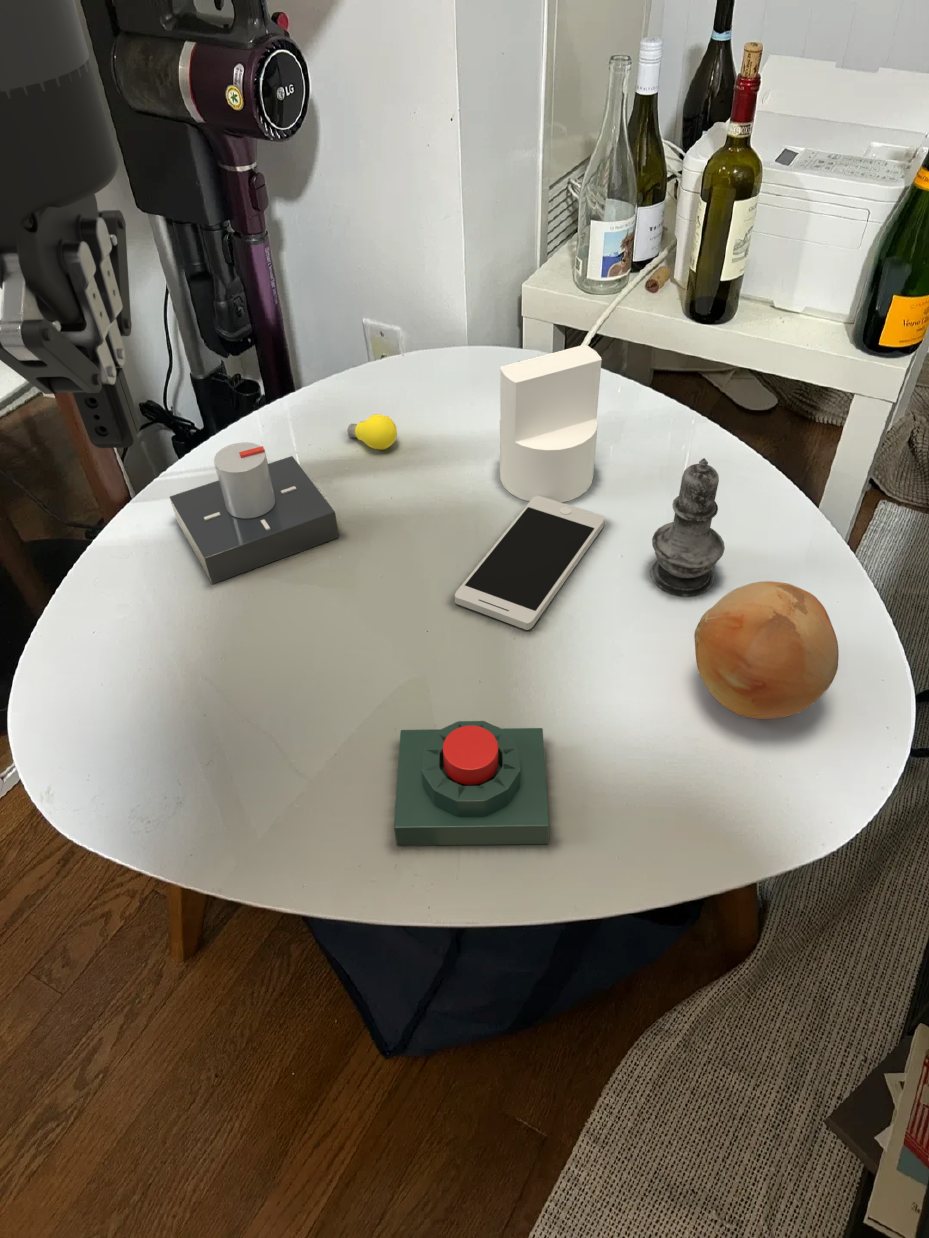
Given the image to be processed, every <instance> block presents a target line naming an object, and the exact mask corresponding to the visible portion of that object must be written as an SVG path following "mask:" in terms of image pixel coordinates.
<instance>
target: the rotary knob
mask: <svg viewBox="0 0 929 1238" xmlns="http://www.w3.org/2000/svg"><path fill="white" fill-rule="evenodd" d="M268 462H269V461H268V457H267V453H266V449H265V448H264V446H263V445H260V444H257V443H255V442H248V441H247V442H245V441H244V442H236V443H232V444H229V445H227V446H224V447H223V448H221V449H220V450H218V451H217V452H216V454H215V455H214V458H213V464H214V469H215V471H216V475H217V478H218V479H217V480H219V483H220V487H221V490H222V494H223V498H224V502H225V506H226V509H227V511H228V512H229V513H230V514H231V515H232V516H235V517H238V518H244V519H248V518H255V517H259V516H261V515H264V514H266V513H267V512H269V511H270V510H271V509H272V508H273V506H274V505H275V501H276V499H275V494H274V489H273V485H272V480H271V475H270V471H269V466H268V464H269V463H268Z"/></svg>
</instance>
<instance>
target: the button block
mask: <svg viewBox="0 0 929 1238" xmlns="http://www.w3.org/2000/svg"><path fill="white" fill-rule="evenodd" d="M463 726H479V727H482V728H484V729H486V730H488V731H489V732H491V733H492V734H493V735H494V737H495V738H496V740H497V743H498V768H497V770H496V772H495V774H494V775H493V776H492V777H491V778H490V779H489V780H487V781H486V782H484V783H481V784H478V785H464V784H460V783H458V782H456V781H454V780H453V779H451V778H450V777H449V775H448V774H447V773H446V771H445V768H444V759H443V744H444V741H445V739H446V737H447V736H448V735H449V734H450V733H451V732H452V731H454V730H455V729H457V728H460V727H463ZM544 742H545V741H544V729H543V727H515V728H513V727H511V728H510V727H508V728H504V727H503V728H501V727H498V726H496V725H495V724H491V723H489V722H487V721H485V720H458V721H455V722H453V723H451V724H449V725H447V726H445V727H443V728H440V729H439V728H438V729H435V728H434V729H433V728H432V729H431V728H430V729H429V728H428V729H401V730H400V732H399V748H398V764H397V777H396V794H395V807H394V821H393V830H394V837H395V843H396V846H402V847H403V846H479V845H480V846H484V845H485V846H486V845H487V846H488V845H491V846H492V845H548V844H549V838H550V837H549V836H550V815H549V814H550V812H549V801H548V785H547V771H546V770H547V769H546V758H545V743H544Z"/></svg>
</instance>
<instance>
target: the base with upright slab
mask: <svg viewBox="0 0 929 1238" xmlns="http://www.w3.org/2000/svg"><path fill="white" fill-rule="evenodd" d="M602 360H603V359H602V357H601V356H600V354H599V353H598V352H597V350H595V349H594V348H592V347H590V346H589V345H587V344H582V345H578V346H573V347H570V348H566V349H562V350H559V351H556V352H555V351H554V352H550V353H547V354H543V355H539V356H536V357H533V358H529V359H523V360H521V361H517V362H513V363H509V364H505V365H500V368H499V371H500V373H499V376H500V377H499V378H500V379H499V381H500V382H499V386H500V392H499V397H500V398H499V399H500V400H499V402H500V403H499V404H500V408H499V409H500V412H499V413H500V415H499V417H500V418H499V477H500V483H501V484H502V486H503V487H504V489H505V490H506V491H507V492H509V493H510V494H511V495H513V496H514V497H516V498H517V499H520V500H523V501H525V502H528V503H529V502H530V500H531V499H532V498H533V497H534V496H537V495H539V496H542V497H545V498H548V499H551V500H555V501H558V502H561V503H565V502H570V501H572V500H575V499H577V498H579V497H581V496H582V495H583V494H585V493H586V492H587V491H588V490H589V488H590V487H591V486H592V485H593V480H594V473H595V472H594V471H595V462H596V461H595V460H596V449H597V448H596V447H597V439H598V437H597V436H598V427H599V426H598V425H599V423H598V409H599V396H600V386H601V385H600V383H601V372H602Z"/></svg>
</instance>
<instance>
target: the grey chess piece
mask: <svg viewBox="0 0 929 1238" xmlns="http://www.w3.org/2000/svg"><path fill="white" fill-rule="evenodd" d="M680 481H681V482H680V488H679V493H678V496H676V497H675V498H674V499H673V502H672V510H673V512H674V516H673V521H671V522H668V523H665V524H663V525H662V526H660V527H658V528H657V529H656V531H655V532H653V536H652V538H651V543H652V548H653V550H654V553H655V554H654V555H655V557H656V560H655V561H654V562H653V564H652V566H651V569H650V576H651V579H652V581H653V583H654V584H655V585H656V586H657V588H659V589H661V590H662V591H663V592H665V593H668V594H670V595H673V596H677V597H696V596H699V595H702V594H704V593H706V592H708V591H709V590H710V589H711V587H712V586H713V584H714V581H715V575H714V574H715V573H714V570H713V567H714V566H715V565H716V564H717V563H718V561H719V560H720V559H721V558H722V557H723V555H724V552H725V548H726V547H725V541H724V540H723V538H722V536H721V535H720V534H719V533H718V532H717V531H716V530H715V529H713V528H712V527H711V526H712V521H713V518H714V517H716V516H717V514H718V512H719V507H718V503H717V502H716V496H717V491H718V488H719V487H718V486H719V482H720V477H719V473H718V472H717V470H716V469H715V468H714V467H713V466H711V465H709V461H708V460H707V459H706V457H703V458H702V459H700V460H699V461H698V463H694V464H691V465H689V466H688V467H687V468H685V470H684V471H683V473H682V476H681V480H680Z"/></svg>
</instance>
